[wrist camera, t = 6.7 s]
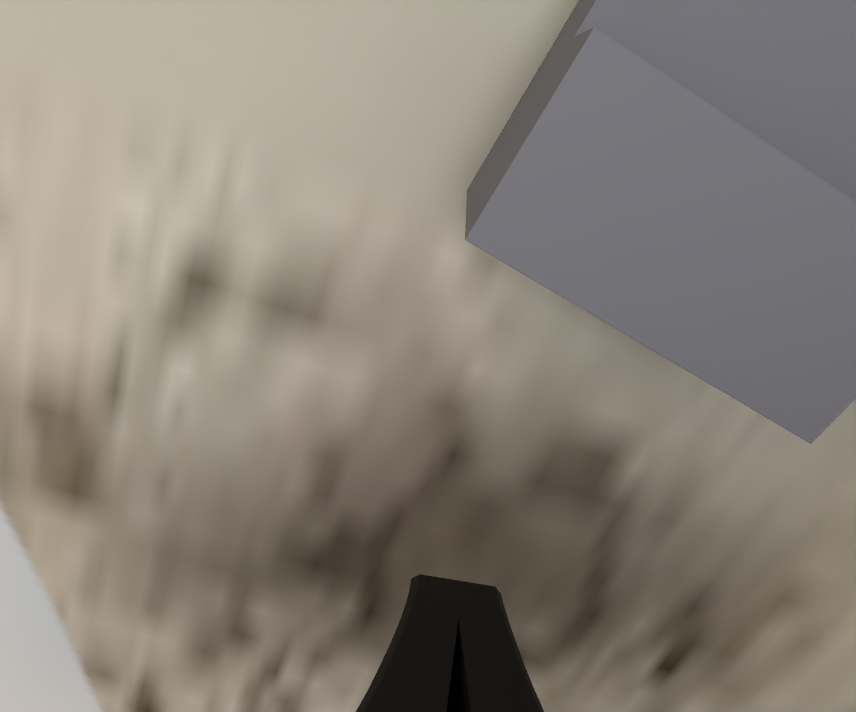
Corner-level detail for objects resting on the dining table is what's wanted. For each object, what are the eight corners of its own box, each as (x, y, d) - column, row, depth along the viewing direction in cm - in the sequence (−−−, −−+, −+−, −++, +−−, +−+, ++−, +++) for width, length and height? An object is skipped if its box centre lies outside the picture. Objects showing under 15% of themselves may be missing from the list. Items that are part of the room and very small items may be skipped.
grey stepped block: (1077, -127, 8) (1529, -286, 4) (701, 329, 10) (810, 443, 7) (791, -363, 7) (1070, -759, 4) (466, 187, 10) (465, 239, 6)
